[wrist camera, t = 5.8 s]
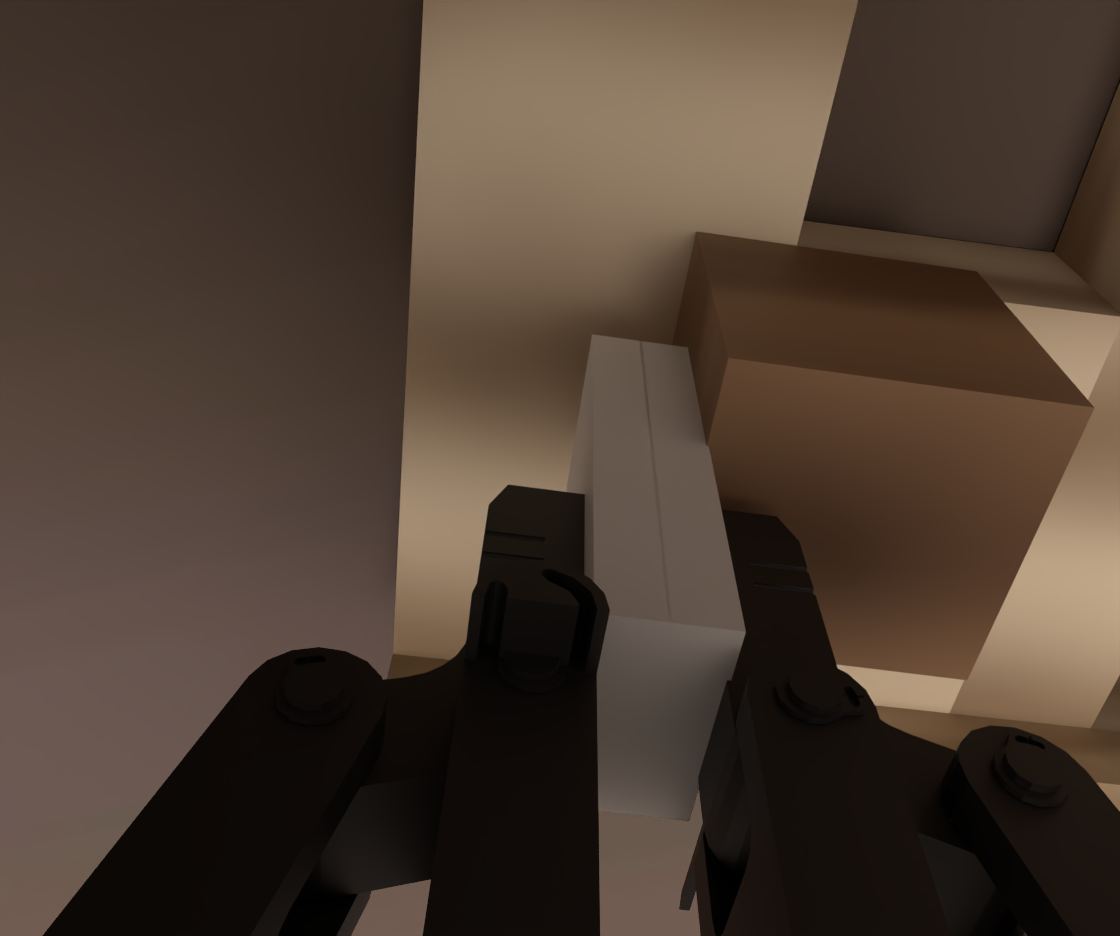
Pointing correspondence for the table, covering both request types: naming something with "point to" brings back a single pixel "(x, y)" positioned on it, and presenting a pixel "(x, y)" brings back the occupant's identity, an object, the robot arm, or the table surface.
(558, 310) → the trap box
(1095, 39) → the table surface
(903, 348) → the walnut block
